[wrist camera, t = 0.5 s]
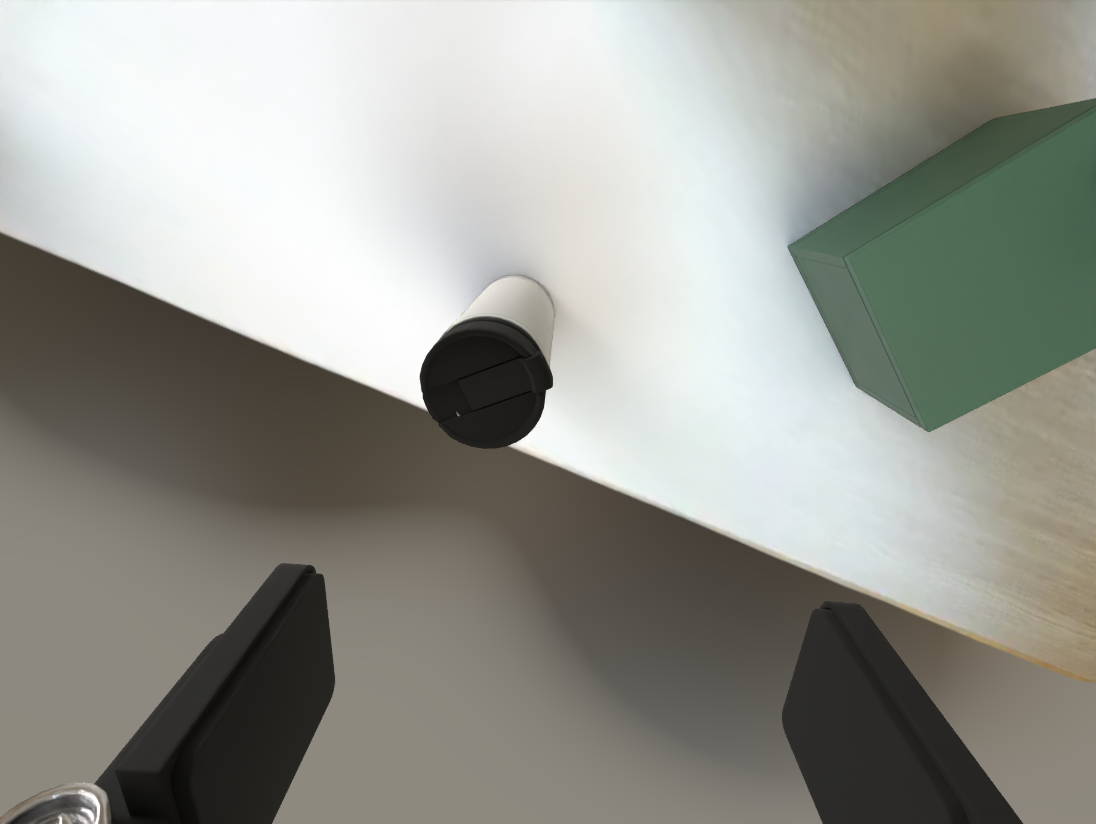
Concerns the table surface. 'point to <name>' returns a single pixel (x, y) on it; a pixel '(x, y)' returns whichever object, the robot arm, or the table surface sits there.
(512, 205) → the table surface
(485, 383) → the travel mug
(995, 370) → the lid
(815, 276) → the chest
